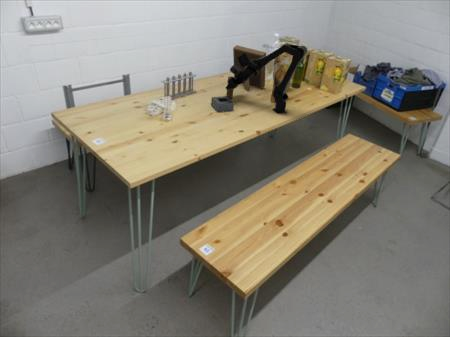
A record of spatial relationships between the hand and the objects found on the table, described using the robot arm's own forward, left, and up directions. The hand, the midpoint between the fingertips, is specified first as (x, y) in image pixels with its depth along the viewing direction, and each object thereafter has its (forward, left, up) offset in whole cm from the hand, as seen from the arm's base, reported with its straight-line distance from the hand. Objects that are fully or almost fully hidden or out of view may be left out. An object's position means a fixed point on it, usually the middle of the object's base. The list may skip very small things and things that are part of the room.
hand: (228, 87), depth 222 cm
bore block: (-15, +10, -7) cm, 19 cm away
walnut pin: (-1, -1, -7) cm, 7 cm away
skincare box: (+6, -43, -7) cm, 44 cm away
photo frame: (+16, -20, -7) cm, 26 cm away
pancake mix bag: (-9, -31, -7) cm, 33 cm away
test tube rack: (+8, +29, -7) cm, 31 cm away
